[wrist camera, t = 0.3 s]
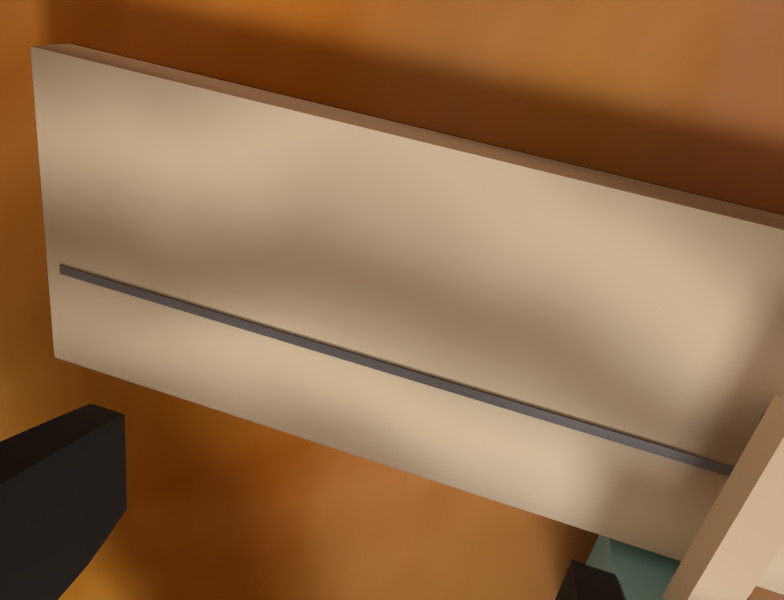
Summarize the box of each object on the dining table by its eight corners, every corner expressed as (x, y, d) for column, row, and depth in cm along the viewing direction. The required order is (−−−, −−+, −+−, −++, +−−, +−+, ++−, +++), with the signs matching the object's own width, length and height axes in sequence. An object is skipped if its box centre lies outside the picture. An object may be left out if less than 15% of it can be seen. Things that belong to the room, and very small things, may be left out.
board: (847, 579, 19) (869, 624, 18) (84, 337, 23) (53, 358, 21) (1069, 284, 14) (1122, 313, 13) (69, 43, 18) (28, 46, 17)
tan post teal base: (675, 654, 22) (701, 816, 18) (561, 615, 23) (558, 762, 18) (850, 370, 16) (951, 502, 12) (694, 328, 17) (735, 438, 13)
